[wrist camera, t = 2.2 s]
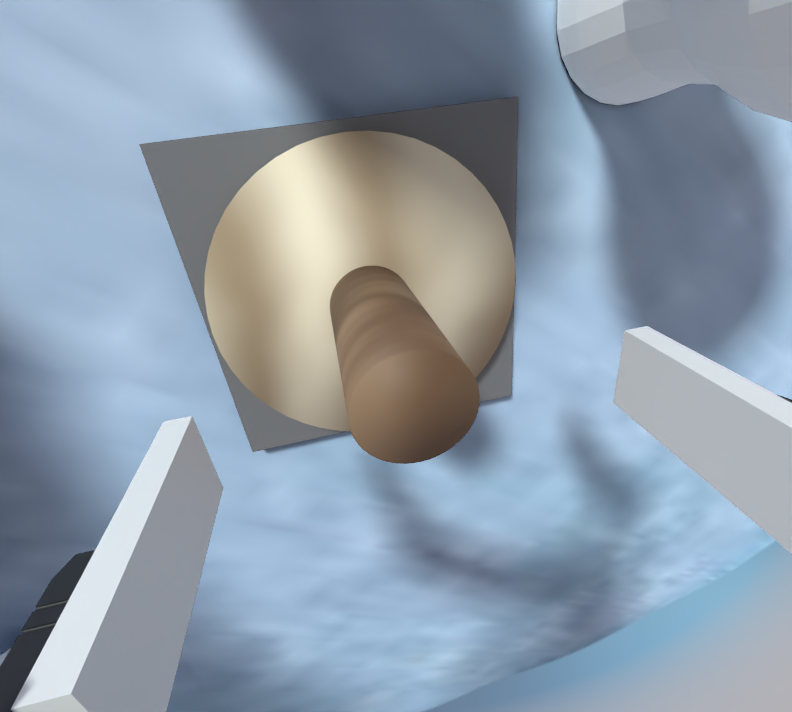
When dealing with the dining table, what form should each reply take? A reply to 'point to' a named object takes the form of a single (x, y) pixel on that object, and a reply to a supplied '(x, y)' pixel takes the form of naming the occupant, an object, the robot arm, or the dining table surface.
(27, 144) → the dining table surface
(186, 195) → the mat
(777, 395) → the robot arm
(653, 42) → the cup
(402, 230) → the lid
